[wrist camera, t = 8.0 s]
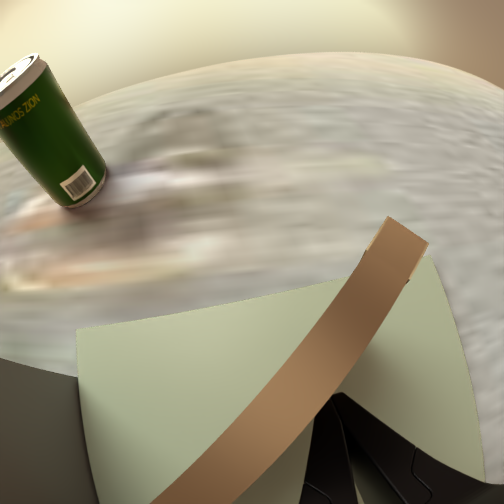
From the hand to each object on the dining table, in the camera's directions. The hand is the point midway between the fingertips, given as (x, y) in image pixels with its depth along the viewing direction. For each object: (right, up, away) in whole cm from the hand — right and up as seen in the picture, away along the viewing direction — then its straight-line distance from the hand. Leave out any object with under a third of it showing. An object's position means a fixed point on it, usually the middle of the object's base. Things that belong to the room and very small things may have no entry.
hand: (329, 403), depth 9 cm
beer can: (-17, +10, +14) cm, 24 cm away
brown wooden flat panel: (-3, -5, +4) cm, 7 cm away
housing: (-6, -8, +4) cm, 11 cm away
